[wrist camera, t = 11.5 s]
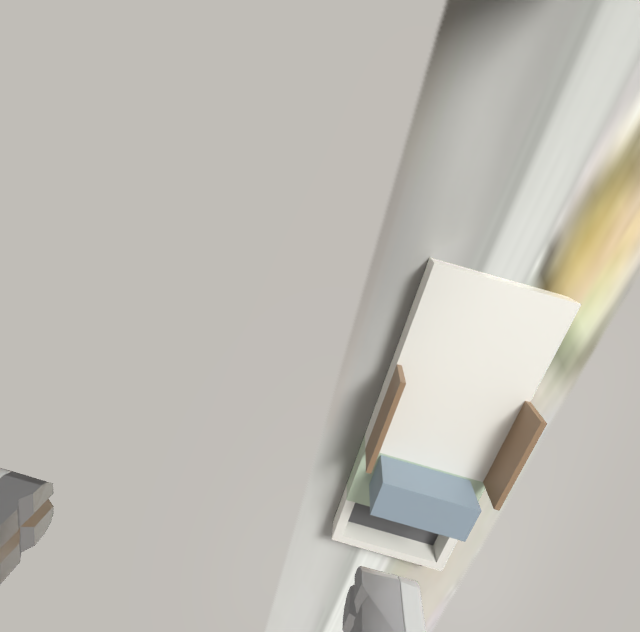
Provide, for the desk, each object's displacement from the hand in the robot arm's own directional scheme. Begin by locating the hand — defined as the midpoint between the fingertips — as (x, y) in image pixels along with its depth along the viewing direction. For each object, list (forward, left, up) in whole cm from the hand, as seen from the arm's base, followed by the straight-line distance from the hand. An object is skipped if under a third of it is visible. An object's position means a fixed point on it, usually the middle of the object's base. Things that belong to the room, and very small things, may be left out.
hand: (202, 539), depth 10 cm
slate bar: (+9, +22, -27) cm, 36 cm away
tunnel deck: (+4, +19, -29) cm, 35 cm away
